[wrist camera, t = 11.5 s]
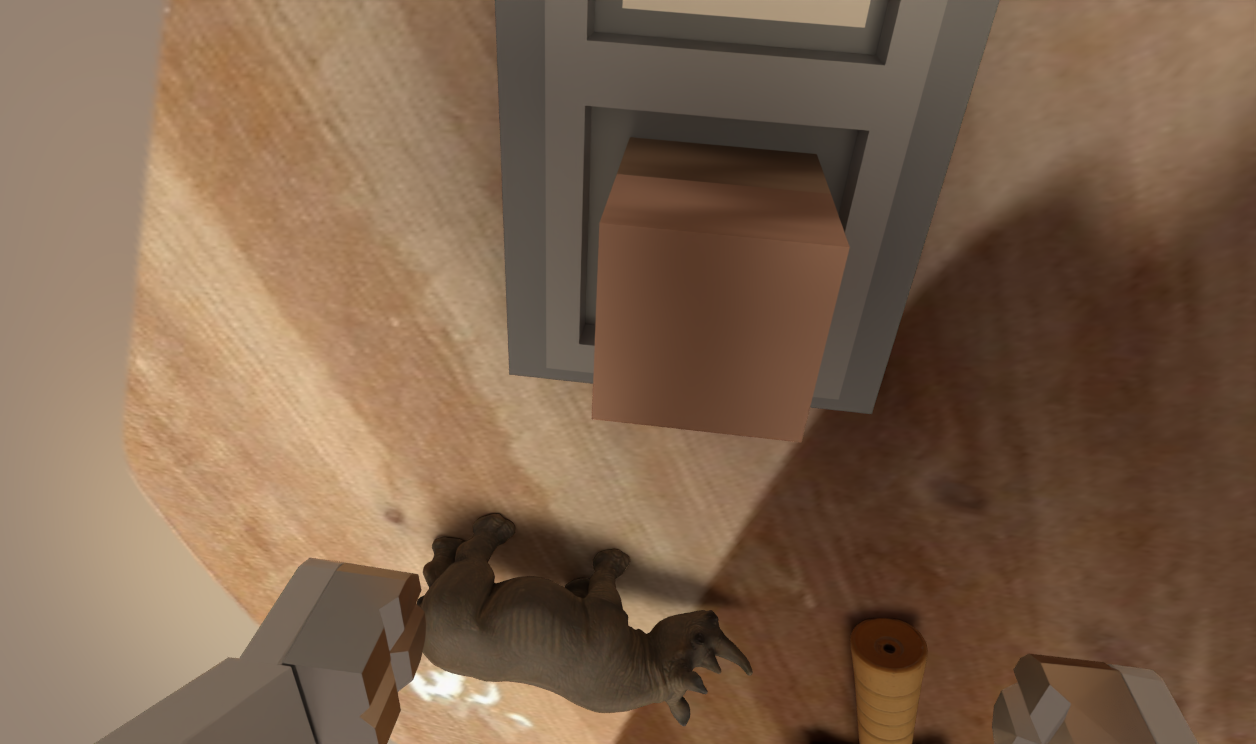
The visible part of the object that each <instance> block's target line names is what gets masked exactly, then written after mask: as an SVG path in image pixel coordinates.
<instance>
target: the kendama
mask: <svg viewBox="0 0 1256 744" xmlns="http://www.w3.org/2000/svg"><path fill="white" fill-rule="evenodd" d="M850 646H851V653H852V661H853V668H854V679H855V690H856V704H857V720H858V733H859V743H860V744H912V741H913V734H914V726H915V721H916V714H917V708H918V702H919V696H920V690H921V684H922V679H923V675H924V670H925V666H926V661H927V654H928V650H927V645H926V641H925V640H924V638H923V637H922V635H921V634H920V633H919V631H918V630H916V629H915V628H914V627H913V626H911V625H910V624H908V623H906V622H904V621H901V620H899V619H892V618H873V619H867V620H864V621H862V622H861V623H859V624H858V625H857V626H856V627H855V628H854V630H853V631H852V634H851V637H850Z"/></svg>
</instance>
